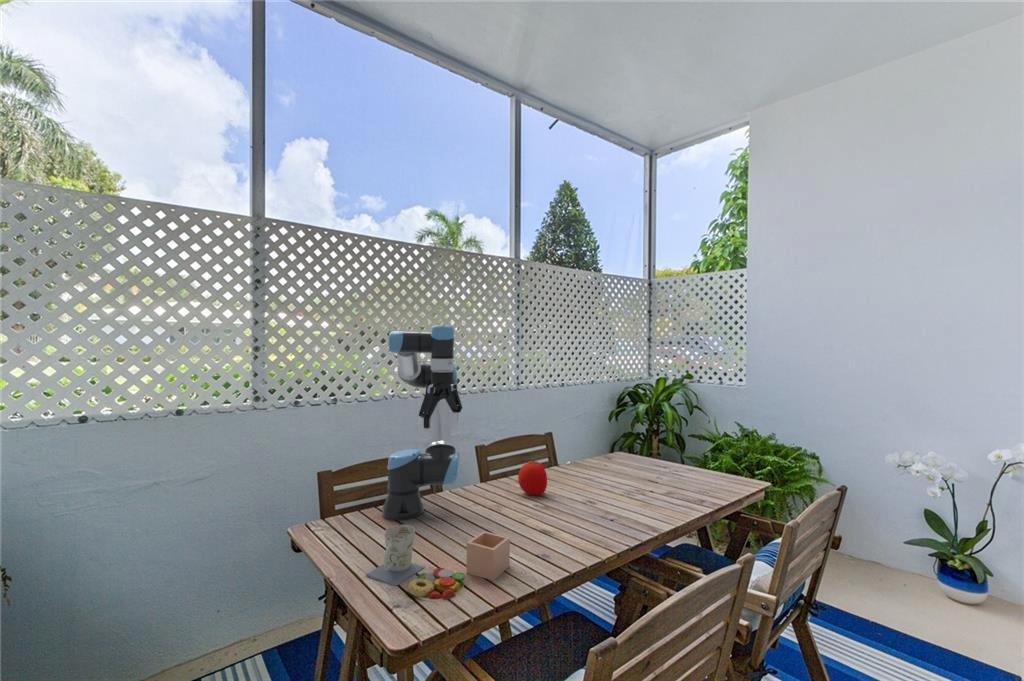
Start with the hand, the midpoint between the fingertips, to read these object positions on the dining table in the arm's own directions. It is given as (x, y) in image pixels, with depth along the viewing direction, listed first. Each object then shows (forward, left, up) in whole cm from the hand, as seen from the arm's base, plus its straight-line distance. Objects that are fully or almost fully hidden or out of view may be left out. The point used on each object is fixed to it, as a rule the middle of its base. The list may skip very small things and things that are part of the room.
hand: (441, 434), depth 148 cm
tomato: (+10, +49, -33) cm, 60 cm away
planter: (+28, -14, -33) cm, 45 cm away
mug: (+6, -27, -32) cm, 42 cm away
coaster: (+6, -27, -33) cm, 43 cm away
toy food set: (+21, -28, -33) cm, 48 cm away
